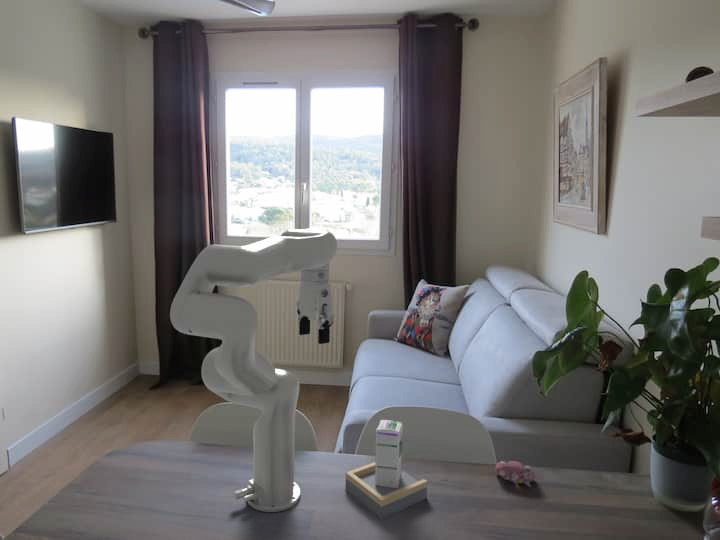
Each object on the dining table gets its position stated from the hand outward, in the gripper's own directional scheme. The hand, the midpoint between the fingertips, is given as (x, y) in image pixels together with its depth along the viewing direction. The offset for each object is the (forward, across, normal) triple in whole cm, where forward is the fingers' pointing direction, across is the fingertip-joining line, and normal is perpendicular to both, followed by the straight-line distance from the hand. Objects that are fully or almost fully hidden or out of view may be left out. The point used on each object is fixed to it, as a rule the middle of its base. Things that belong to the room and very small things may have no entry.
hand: (314, 338), depth 139 cm
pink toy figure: (+34, -40, -36) cm, 64 cm away
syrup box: (+31, -26, -6) cm, 40 cm away
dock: (+33, -26, -5) cm, 43 cm away
